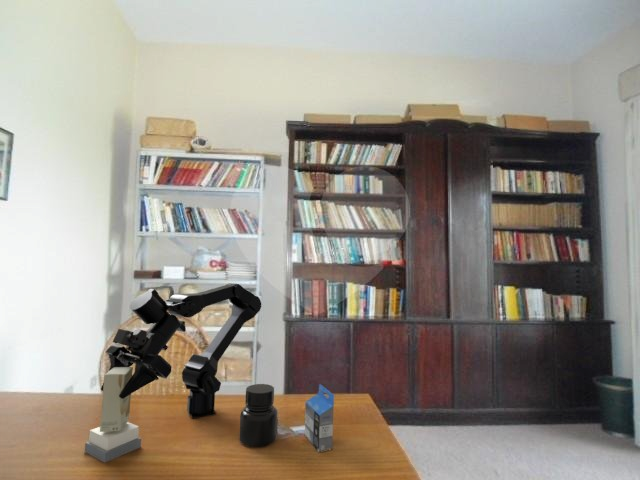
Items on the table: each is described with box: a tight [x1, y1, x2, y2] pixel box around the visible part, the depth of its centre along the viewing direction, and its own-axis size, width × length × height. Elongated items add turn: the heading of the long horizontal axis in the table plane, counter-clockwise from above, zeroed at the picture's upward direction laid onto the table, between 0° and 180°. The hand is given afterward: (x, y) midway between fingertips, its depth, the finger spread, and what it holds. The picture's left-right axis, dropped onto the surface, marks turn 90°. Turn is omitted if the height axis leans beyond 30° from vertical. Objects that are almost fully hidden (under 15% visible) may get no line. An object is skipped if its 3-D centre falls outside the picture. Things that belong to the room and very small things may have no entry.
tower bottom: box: [84, 436, 142, 463], centre depth 81 cm, size 8×8×2 cm
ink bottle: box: [238, 383, 279, 448], centre depth 88 cm, size 10×9×12 cm
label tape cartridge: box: [304, 383, 335, 453], centre depth 87 cm, size 9×4×12 cm, turn 24°
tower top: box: [88, 421, 140, 451], centre depth 81 cm, size 7×7×2 cm
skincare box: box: [99, 366, 134, 432], centre depth 82 cm, size 6×4×12 cm
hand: (111, 394), depth 81 cm, fingers closed on skincare box, 7 cm apart
